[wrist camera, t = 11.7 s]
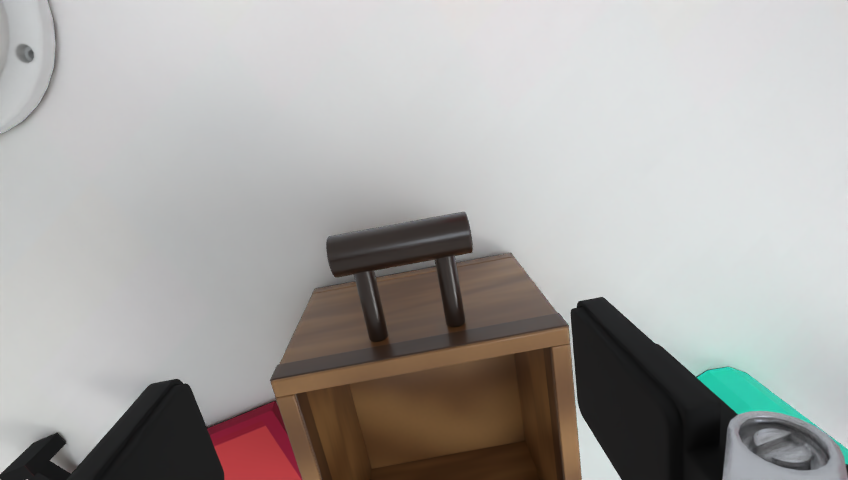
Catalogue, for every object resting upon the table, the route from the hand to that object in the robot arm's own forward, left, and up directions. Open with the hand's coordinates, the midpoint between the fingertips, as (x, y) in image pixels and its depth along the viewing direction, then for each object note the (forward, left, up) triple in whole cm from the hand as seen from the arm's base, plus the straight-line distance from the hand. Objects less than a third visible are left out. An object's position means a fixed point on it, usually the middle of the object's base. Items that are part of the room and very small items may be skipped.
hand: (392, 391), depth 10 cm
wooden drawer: (+8, 0, -17) cm, 19 cm away
